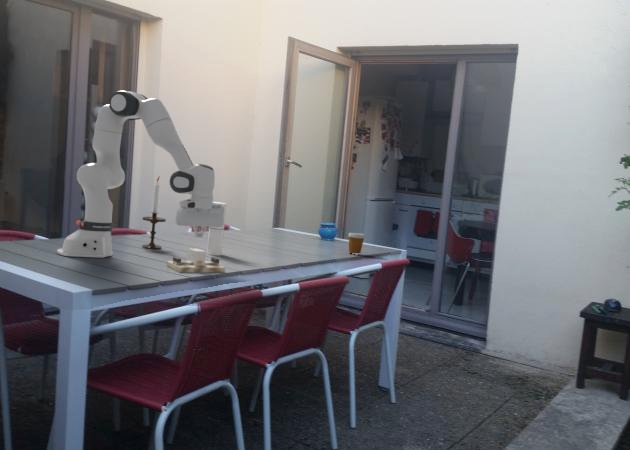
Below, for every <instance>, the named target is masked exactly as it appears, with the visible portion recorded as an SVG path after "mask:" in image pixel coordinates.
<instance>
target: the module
mask: <svg viewBox="0 0 630 450" xmlns="http://www.w3.org/2000/svg"><path fill="white" fill-rule="evenodd" d="M187 251H188V252H187V261H190V262H192V263H193V265H194V266H205V261H206V254H207V250H202V249H200V248H188V250H187Z"/></svg>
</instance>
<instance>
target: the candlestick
mask: <svg viewBox="0 0 630 450" xmlns="http://www.w3.org/2000/svg"><path fill="white" fill-rule="evenodd" d="M159 179H160V175H159V176H158V177H157V179H156V183H155V185H154V195H153V205H152V211H151V212H150V213H151V214H152V215H151V216H142V220H143V221H146V222H150V223H151V231H149V233H150V237H149V239H150V242H149V243H148V244H142V245H141V248H142V249H147V250H162V246H161V245H157V244H155V241H154V240H155V238H156V237H155V235H156V233H157V232H156V230H155V229H156V224H158V223H165V222H166V221H167V219H166V218H164V217H158V216H157V215H158V202H159V201H158V200H159V191H160V190H159V189H160V185H159Z"/></svg>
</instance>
